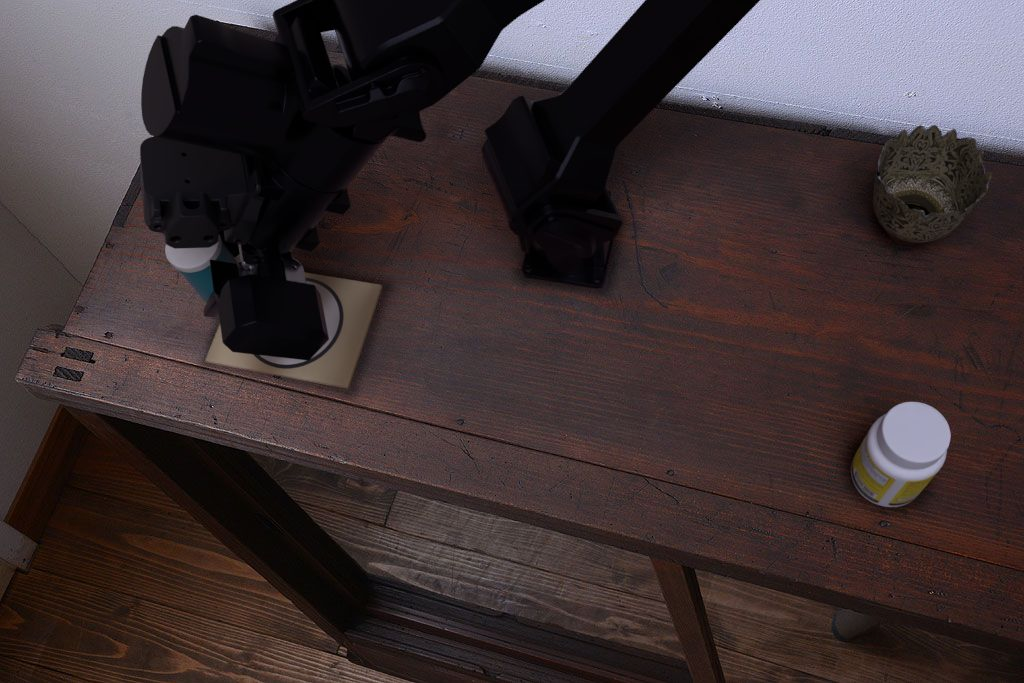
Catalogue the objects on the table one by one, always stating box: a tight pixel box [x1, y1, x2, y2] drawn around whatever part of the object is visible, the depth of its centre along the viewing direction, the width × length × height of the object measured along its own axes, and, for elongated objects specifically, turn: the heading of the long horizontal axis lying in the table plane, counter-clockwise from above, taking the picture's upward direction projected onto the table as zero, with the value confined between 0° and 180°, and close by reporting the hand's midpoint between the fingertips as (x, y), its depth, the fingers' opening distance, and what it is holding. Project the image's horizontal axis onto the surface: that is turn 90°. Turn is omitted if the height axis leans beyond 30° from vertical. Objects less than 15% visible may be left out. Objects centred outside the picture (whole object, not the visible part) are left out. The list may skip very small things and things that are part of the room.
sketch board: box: [204, 271, 383, 390], centre depth 77 cm, size 12×9×1 cm
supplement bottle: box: [850, 401, 952, 508], centre depth 63 cm, size 5×5×8 cm
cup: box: [872, 124, 993, 246], centre depth 71 cm, size 8×7×8 cm
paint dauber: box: [164, 235, 239, 303], centre depth 68 cm, size 4×4×12 cm
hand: (207, 292), depth 68 cm, fingers closed on paint dauber, 3 cm apart
